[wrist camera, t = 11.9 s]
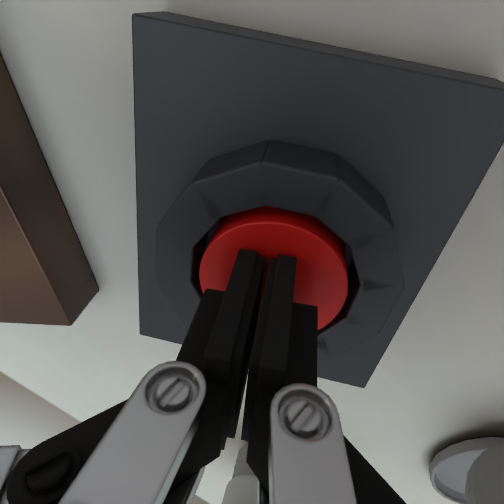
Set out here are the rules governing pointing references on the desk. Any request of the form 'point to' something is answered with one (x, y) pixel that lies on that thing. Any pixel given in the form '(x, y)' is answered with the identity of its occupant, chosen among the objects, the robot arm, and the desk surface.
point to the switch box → (301, 166)
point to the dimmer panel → (35, 230)
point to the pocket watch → (470, 471)
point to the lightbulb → (241, 482)
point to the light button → (284, 243)
